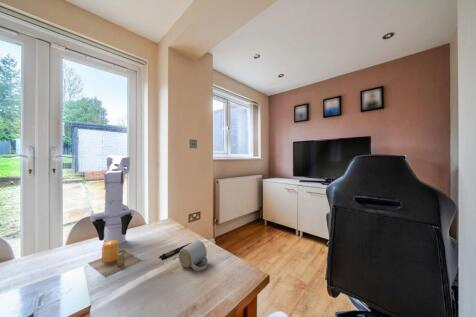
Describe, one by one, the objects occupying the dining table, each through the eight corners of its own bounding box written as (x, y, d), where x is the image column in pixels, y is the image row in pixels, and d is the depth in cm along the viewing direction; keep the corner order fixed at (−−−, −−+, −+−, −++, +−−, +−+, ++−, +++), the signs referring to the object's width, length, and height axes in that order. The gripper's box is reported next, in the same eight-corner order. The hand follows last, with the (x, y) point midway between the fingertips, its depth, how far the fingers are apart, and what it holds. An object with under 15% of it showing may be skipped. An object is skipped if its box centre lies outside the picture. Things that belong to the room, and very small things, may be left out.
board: (87, 267, 66) (87, 252, 66) (122, 253, 76) (123, 240, 76) (105, 282, 58) (105, 265, 58) (142, 264, 68) (142, 249, 68)
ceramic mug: (177, 265, 68) (177, 244, 68) (194, 255, 74) (194, 237, 74) (196, 276, 61) (196, 253, 62) (212, 265, 68) (213, 244, 68)
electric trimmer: (194, 250, 80) (194, 243, 80) (161, 266, 67) (161, 257, 68) (189, 248, 82) (189, 240, 82) (156, 262, 70) (156, 254, 70)
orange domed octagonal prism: (100, 259, 69) (100, 243, 69) (114, 253, 73) (114, 239, 73) (105, 263, 66) (106, 247, 66) (120, 257, 70) (120, 242, 70)
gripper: (96, 203, 63) (94, 244, 61) (137, 198, 75) (137, 232, 73) (88, 203, 67) (86, 242, 65) (129, 199, 79) (128, 231, 77)
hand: (113, 237), depth 69 cm, fingers open, 7 cm apart
